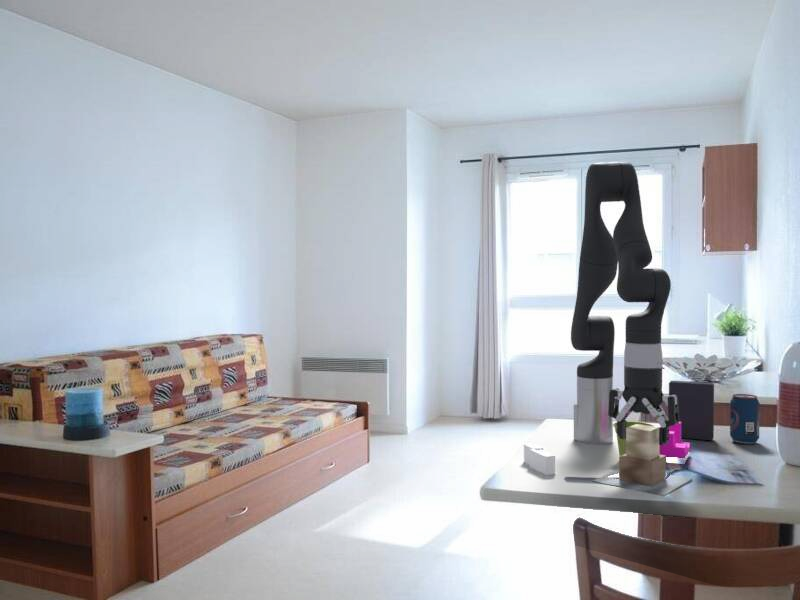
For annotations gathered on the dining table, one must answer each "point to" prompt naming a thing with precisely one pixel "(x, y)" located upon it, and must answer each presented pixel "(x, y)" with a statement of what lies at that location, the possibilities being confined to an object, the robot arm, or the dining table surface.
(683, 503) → the dining table surface
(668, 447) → the toy block
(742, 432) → the soda can
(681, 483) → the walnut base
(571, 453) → the dining table surface
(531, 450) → the napkin holder
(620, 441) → the plant pot
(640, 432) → the maple brick
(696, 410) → the dark grey box
